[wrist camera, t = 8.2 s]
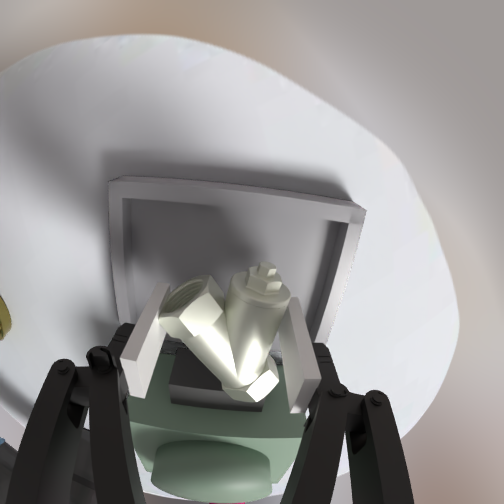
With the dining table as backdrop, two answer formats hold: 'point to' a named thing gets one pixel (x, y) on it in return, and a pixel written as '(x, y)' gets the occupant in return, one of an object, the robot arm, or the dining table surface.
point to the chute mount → (230, 242)
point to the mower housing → (211, 434)
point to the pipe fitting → (231, 327)
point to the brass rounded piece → (4, 320)
